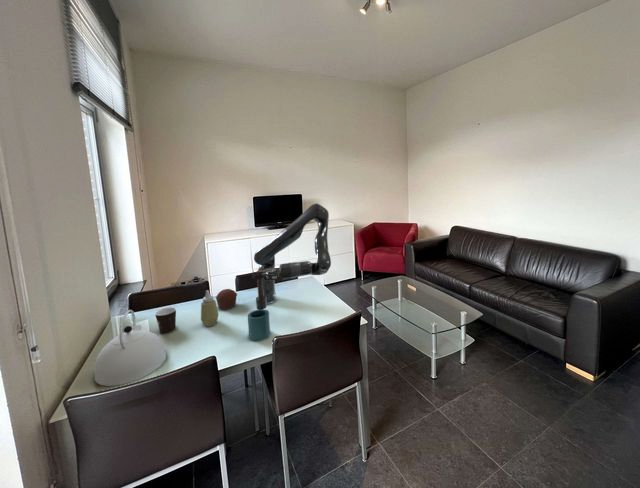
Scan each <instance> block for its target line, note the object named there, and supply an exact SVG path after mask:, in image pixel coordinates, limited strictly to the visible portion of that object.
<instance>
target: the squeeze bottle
mask: <svg viewBox="0 0 640 488" xmlns="http://www.w3.org/2000/svg"><path fill="white" fill-rule="evenodd" d="M218 318H219V309H218V305H217V300H215V299H214V296H213V295H211V293H210V290H208V289H207V290H205V295H204V296H203V298H202V302H201V304H200V320H201V323H202V325H203V326H204V327H211V326H215V325H217V322H218Z"/></svg>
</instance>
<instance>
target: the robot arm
mask: <svg viewBox="0 0 640 488" xmlns="http://www.w3.org/2000/svg"><path fill="white" fill-rule="evenodd" d="M329 219H330V213H329V210H328V209H327V208H326V207H324V206H323V205H321V204H320V203H313V204H311V205H310V206H309V207H308V208H306V209H305V211H303V212H302V213H301V215H300V216H299V217H297V218H296V219H295V220H294V221H292V222H291V223H290V224H288V225H287V226H286V227H285V228H284V229H283V230H282V231H280V232H279V233H278V234H277V235H276V236H275V237H274V238H273V239H272V240H271V241H270V242H268V243H267V244H266V245H265V246H262V247H261V248H259V249H258V250H256V252H255V253H254V255H253V260H254V262H255V264H256V265H258V266H259V267H258V269H257V271H259V270H261V271H262V274H257V271H255V272H252V273H251V275H252V280H254V281H255V280H256V281H257V279H263V293H264V296H266V302H267V305H270V304H273V303H275V302H276V300H277V299H276V295H277V292H276V285H275V281H277V280H278V278H280V280H281V281H284V280H289V279H295V278H299V277H305V276H322V275H325V274H327V273H328V272H329V270H330V268H331V265H332V260H331V259H332V258H331V255H330V252H329V241H328V232H329V221H330V220H329ZM312 221H314V222H316V223H317V233H316V235H315V238H314V253H315V255H316V262H311V261H309V260H305V261H293V262H288V263H280V264H279V267H276V257H275V256H276V255H277V254H278V253H279V252H281V251H283V250H285V249H286V248H287V247H289V246H291V245H292V244H293V243H295V242H296V241H298V240H299V238H301V236H302V234H303V231H304V228H306V226H307V224H309V223H310V222H312Z"/></svg>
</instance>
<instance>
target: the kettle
mask: <svg viewBox="0 0 640 488" xmlns="http://www.w3.org/2000/svg"><path fill="white" fill-rule="evenodd" d="M129 313H131V317H132V326H131V325H126V326H125V327H124V323H125V319H126V317H127V316H128V315H129ZM136 323H137V322H136V314H135V311H134V310H132V309H129V310H127V311H126V312H125V314H124V315H123V316H122V318H121V321H120V324H119V334H118V335H116V336H115V337H114V338H112V339H111V340H109V341H108V342H107V343H106V345H104V347H103V348H102V349H101V350H100V351H99V354H98V355H97V357H96V359H95V363H94V380H95V383H96V384H97V385H100V386H105V387H113V386H114V387H115V386H120V385H124V384H128V383H131V382H134V381H137V380H139V379H141V378H144V377H145V376H148V375H149V374H151V373H153V372H154V371H156V370H157V369H158V368H160V367H161V366H162V365H163V364H164V362H165V361H166V359H167V353H166V348H165V344H164V342H163V340H162V338H160V337H159V336H158V335H157V334H155V333H154V332H151V331H150V330H144V329H142V326H141V325H137V324H136ZM123 327H124V328H123Z"/></svg>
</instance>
